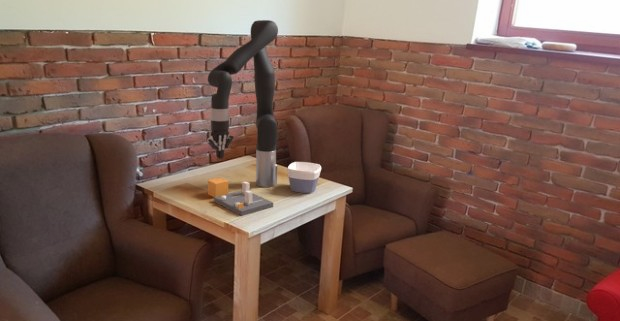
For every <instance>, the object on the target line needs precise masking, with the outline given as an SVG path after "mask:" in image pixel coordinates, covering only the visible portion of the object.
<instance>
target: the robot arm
mask: <svg viewBox="0 0 620 321" xmlns="http://www.w3.org/2000/svg"><path fill="white" fill-rule="evenodd" d="M278 34H279V29H278V25H277V23H276V22H275V21H273V20H268V19H266V20H265V19H262V20H260V19H259V20H255V21H253V22H252V24H251V27H250V40H249V41H248V42H246V43H244V44H243V45H241V46H239V47H238V48H237V49H235V50H234V51H233V52H232V53H231V54H230V55H229V56H228V57H227V58H226V59H225V60H224V61H223V62H221V63H220V64H219V65H217V66H216V67H214V68H212V70H210V72H209V73H208V76H207V82H208V84H209V85H210V86H211V87H213V88H216V89H217V90H216V93H213V94H212V95H211V97H210V98H211V100H210V103H211V105H210V106H211V109H210V110H211V111H210V130H211V132H210V136H209V137H207V138H206V139H205V141H206V142H207V143H208V144H209V146H210V147H211V149H213V150H215V151H216V158H217V159H219V160H222V159H223V158H224V156H225V149H228V148H229V147H230V144H231V142H232V141H233V139H234V136H233V135H231V134H230V132H229V129H230V110H229V98H230V94H231V90H232V85H233V78H232V75H237V74H238V73H239V72H240V71H241V70H242V69H243V67H245V66H246V64H247V63H248V62H250V60H251V59H253V68H254V69H253V70H254V72H253V73H254V75H253V76H254V78H253V79H254V90H255V98H256V120H255V127H256V130H257V134H256V135H257V138H256V139H257V140H256V148H255V150H256V153H255V154H256V155H255V158H256V159H255V161H256V163H255V185H256V186H258V187H260V188H270V187H274V186H276V185H277V184H278V165H277V163H276V162H277V144H278V132H279V131H278V130H279V129H278V127H279V126H278V123H277V121H276V119H275V116H274V107H273V103H274V102H273V101H274V96H275V91H276V90H275V89H276V75H275V73H276V72H275V69H274V67H273V65H272V62H271V60H270V59H269V55H268V51H267V46H268V45H269V44H271V43H272V42H274V40H275V39H276V38H277V36H278Z"/></svg>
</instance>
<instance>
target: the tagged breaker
mask: <svg viewBox="0 0 620 321" xmlns="http://www.w3.org/2000/svg"><path fill="white" fill-rule="evenodd" d="M252 193H253V191H251V190H250V191H249V190H247V191H245V201H243V203H244V204H246V205H252V204H254V202H253V201H252Z"/></svg>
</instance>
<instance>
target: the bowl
mask: <svg viewBox="0 0 620 321" xmlns="http://www.w3.org/2000/svg"><path fill="white" fill-rule="evenodd" d="M321 171H322V166H321V165H320V163H319V164H318V163H313V162H307V161H306V162H305V161H294V162H291V163H290V164H289V165H288V167H287V169H286V172H287V176H288V182H289V186H290V190H291V191H292V192H296V193H303V194H311V193H314V192H315V191H316V189H317V185H318V182H319V178H320V175H321Z"/></svg>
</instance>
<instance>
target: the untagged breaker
mask: <svg viewBox="0 0 620 321" xmlns="http://www.w3.org/2000/svg"><path fill="white" fill-rule="evenodd" d="M241 183H242V184H241V185H242V189H241V190H242V192H241V194H243V195H245V191H247V190H249V191H251V190H250V186H251V185H250V184H251V183H250V182H248V181H242V182H241Z"/></svg>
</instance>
